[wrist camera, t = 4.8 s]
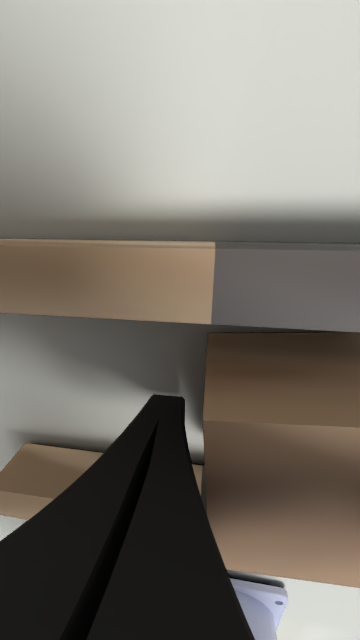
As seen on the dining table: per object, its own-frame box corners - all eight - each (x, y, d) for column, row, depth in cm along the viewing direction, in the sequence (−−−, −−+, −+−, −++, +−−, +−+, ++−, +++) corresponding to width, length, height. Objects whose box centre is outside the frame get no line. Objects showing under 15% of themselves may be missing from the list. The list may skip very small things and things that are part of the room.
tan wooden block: (344, 452, 11) (427, 597, 7) (211, 444, 12) (209, 566, 7) (376, 332, 8) (530, 436, 4) (207, 333, 9) (203, 420, 5)
